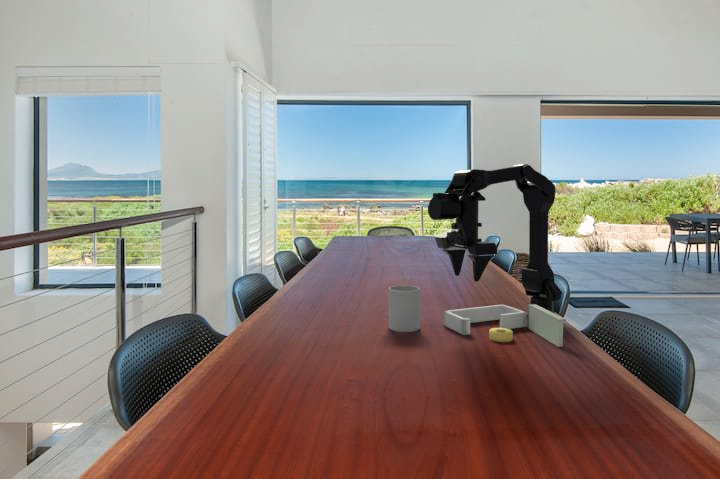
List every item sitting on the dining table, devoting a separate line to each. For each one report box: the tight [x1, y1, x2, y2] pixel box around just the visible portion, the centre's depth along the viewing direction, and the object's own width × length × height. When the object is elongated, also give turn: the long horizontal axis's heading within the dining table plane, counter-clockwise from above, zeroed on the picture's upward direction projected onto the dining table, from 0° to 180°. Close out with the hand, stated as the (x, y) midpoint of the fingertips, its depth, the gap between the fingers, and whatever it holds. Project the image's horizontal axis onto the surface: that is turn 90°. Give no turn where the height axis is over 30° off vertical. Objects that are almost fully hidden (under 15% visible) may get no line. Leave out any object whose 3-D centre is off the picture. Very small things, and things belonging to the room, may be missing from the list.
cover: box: [528, 304, 567, 348], centre depth 116 cm, size 15×2×7 cm, turn 6°
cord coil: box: [488, 327, 514, 343], centre depth 115 cm, size 6×6×2 cm
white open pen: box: [442, 303, 532, 336], centre depth 126 cm, size 20×12×6 cm, turn 110°
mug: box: [388, 284, 421, 333], centre depth 127 cm, size 12×8×11 cm
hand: (466, 278), depth 121 cm, fingers open, 9 cm apart
